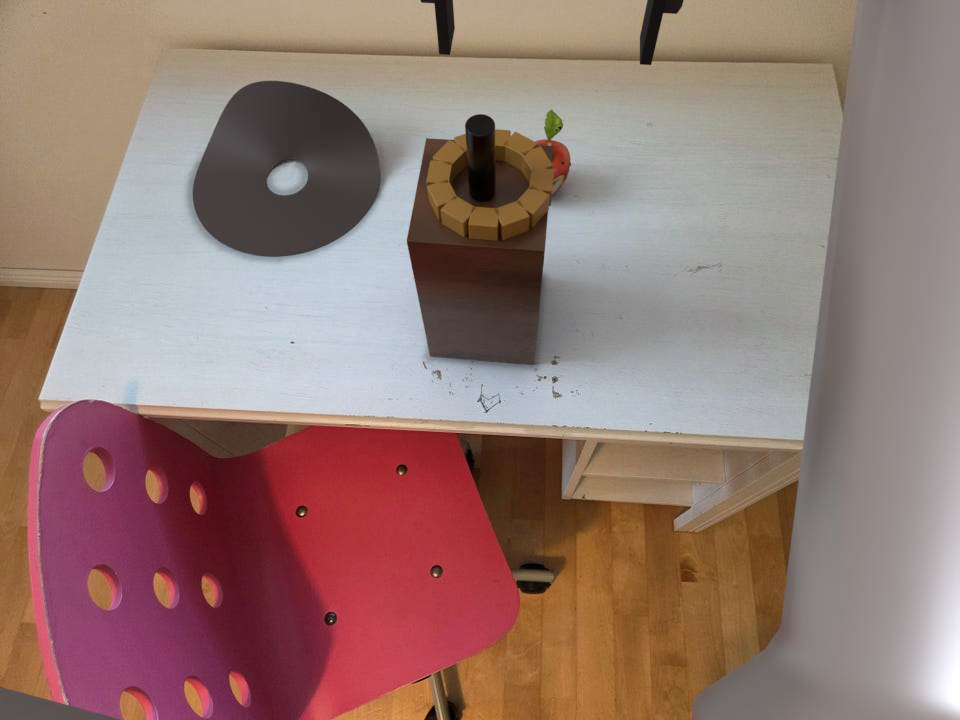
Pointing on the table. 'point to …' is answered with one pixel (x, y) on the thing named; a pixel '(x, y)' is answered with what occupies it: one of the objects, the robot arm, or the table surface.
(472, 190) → the post
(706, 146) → the table surface
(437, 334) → the stand
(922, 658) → the robot arm
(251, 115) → the dark holed disc
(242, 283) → the table surface
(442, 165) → the ring
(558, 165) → the apple
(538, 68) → the table surface
